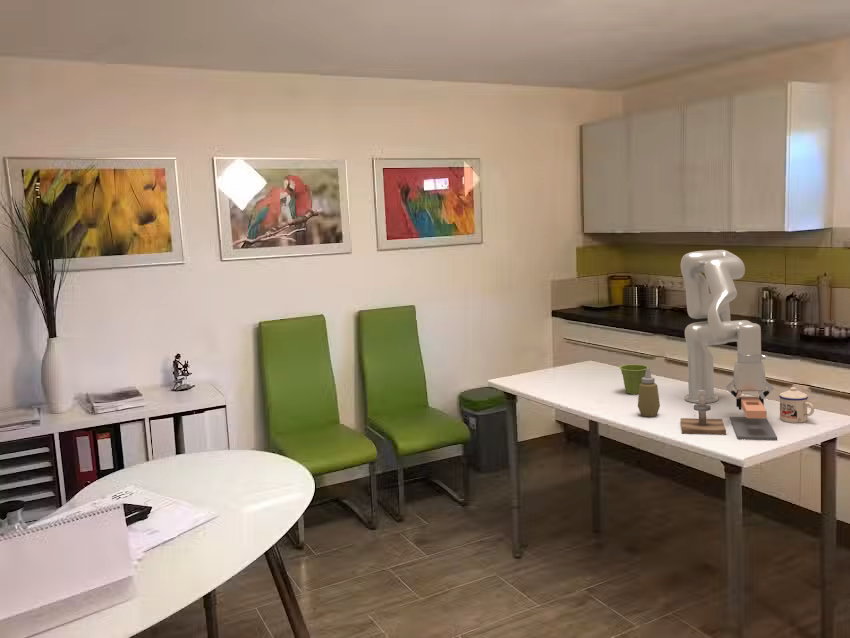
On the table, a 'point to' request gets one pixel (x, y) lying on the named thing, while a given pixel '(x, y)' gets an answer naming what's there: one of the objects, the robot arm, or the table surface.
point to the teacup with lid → (794, 406)
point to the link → (753, 407)
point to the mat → (752, 428)
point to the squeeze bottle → (648, 396)
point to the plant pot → (633, 377)
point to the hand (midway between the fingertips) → (750, 408)
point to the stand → (702, 420)
